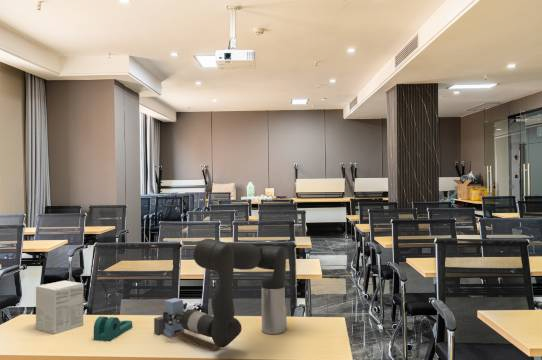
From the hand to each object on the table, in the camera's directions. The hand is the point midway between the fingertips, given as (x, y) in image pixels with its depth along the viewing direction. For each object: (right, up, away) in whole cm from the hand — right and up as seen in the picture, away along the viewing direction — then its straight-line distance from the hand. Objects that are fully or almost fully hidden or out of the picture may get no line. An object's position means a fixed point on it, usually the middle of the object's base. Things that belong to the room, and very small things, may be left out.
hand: (170, 313), depth 163 cm
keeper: (+2, -7, -2) cm, 8 cm away
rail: (+11, -7, -10) cm, 16 cm away
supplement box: (-47, -8, +8) cm, 49 cm away
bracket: (-22, -8, 0) cm, 23 cm away
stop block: (-1, -8, +1) cm, 8 cm away
